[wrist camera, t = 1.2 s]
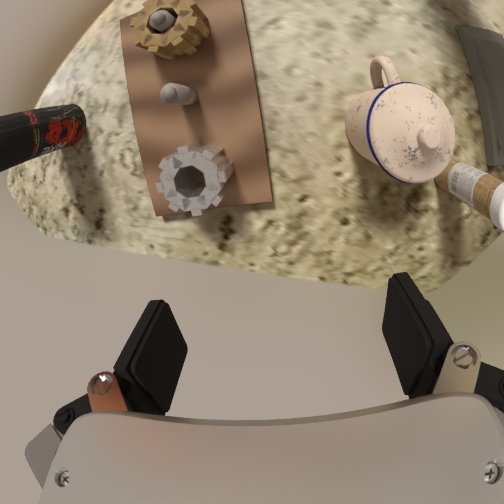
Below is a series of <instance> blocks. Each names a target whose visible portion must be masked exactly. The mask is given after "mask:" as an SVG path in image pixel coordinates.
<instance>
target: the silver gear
mask: <svg viewBox="0 0 504 504" xmlns="http://www.w3.org/2000/svg"><path fill="white" fill-rule="evenodd" d="M223 149H224V148H223V147H222V146H220V145H219V144H217V143H216V144H214V145H212V146H210V145H209V144H206V145H202V140H198V141H193V142H190V143H188V144H185V145H183V146H180V147H178V148H177V150H178V151H177V152H175V153H173V154H170V155H168V156H166V157H164V158H163V159H162V161H161V162H160V164H159V166H158V167H160V168H161V169H162V170H163V171H162V173H161V174H160V178H161V180H160V181H158V182H157V183H156V186H157V190H158V193H161V192H164V195H165V198H166V199H167V200H169V201H170V204H169V206H168V207H169V208H170V209H172V210H173V211H175V212H177V211H178V210H179V209H182V210H183V211H184V212H185V211H191V213H192V216H199V215H202V214H203V213H204V211H205V210H206V208H208V207H209V205H210V204H211V203H212V204H213V205H215V206H216V207H217V205H218V204H219V202H220V201H221V200H222V198H223V197H224V195H225V193H226V192H227V190H228V188H229V186H230V184H229V183H227V182H226V181H227V180H228V178H229V177H230V175H231V174H232V172H233V171H234V167H233V161H231V162H227V160H226V156H225V155H223V154H222V153H221V152H222V150H223ZM192 165H193V166H194V167H196V168H197V169H199V170H200V171H202V172H203V173H204V177H205V182H206V183H205V184H199V183H197V182H196V181H194V180H193V179H192V178H191V176H190V171H189V166H192Z"/></svg>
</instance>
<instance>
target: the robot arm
mask: <svg viewBox="0 0 504 504" xmlns="http://www.w3.org/2000/svg"><path fill="white" fill-rule="evenodd" d="M382 331H383V335H384V338H385V340H386V343H387V346H388V348H389V351H390V354H391V356H392V359H393V362H394V365H395V368H396V371H397V374H398V377H399V379H400V383H401V386H402V389H403V392H404V394H405V395H408V396H409V399H408V400H404V401H400V402H396V403H391V404H387V405H382V406H377V407H372V408H368V409H362V410H356V411H350V412H345V413H338V414H331V415H323V416H314V417H304V418H292V419H276V420H209V419H193V418H181V417H171V416H165V413H166V412H168V411H169V409H170V406H171V403H172V399H173V396H174V392H175V390H176V386H177V383H178V380H179V377H180V373H181V370H182V367H183V364H184V361H185V358H186V355H187V344H186V342H185V340H184V338H183V336H182V333H181V331H180V329H179V327H178V325H177V322H176V320H175V318H174V316H173V313H172V311H171V309H170V307H169V304H168V303H165V301H164V300H151V301H150V302H149V303H148V305H147V307H146V308H145V310H144V312H143V314H142V316H141V318H140V319H139V321H138V323H137V324H136V326H135V328H134V330H133V332H132V333H131V335H130V337H129V339H128V341H127V342H126V344H125V346H124V348H123V350H122V352H121V354H120V356H119V358H118V360H117V361H116V363H115V365H114V367H113V368H114V372H113V373H111V372H107V371H106V372H101V373H98V374H96V375H95V376H94V377H93V378H92V379H91V380H90V382H89V383H88V387H87V392H88V393H87V394H86V395H84V396H82V397H80V398H78V399H76V400H74V401H73V402H71V403H69V404H67V405H65V406H63V407H62V408H60V409H59V410H58V411H57V412H56V414H55V416H54V420H53V423H54V425H52V424H49V425H48V426H47V427H46V428H45V429H44V430H43V431H42V432H40V433H39V434H38V435H37V436H36V437H35V438H34V439H33V440H32V441H31V442H29V444H28V445H27V446H26V449H25V456H26V459H27V461H28V463H29V465H30V467H31V469H32V471H33V473H34V475H35V477H36V478H37V480H38V482H39V484H40V486H41V487H42V489H43V490H42V493H41V497H40V501H39V504H504V370H501V369H499V368H496V367H494V366H491V365H489V364H486V363H483V362H481V355H480V352H479V350H478V349H477V348H476V347H475V346H474V345H473V344H470V343H468V342H457V343H455V344H454V342H453V341H452V339H451V337H450V335H449V333H448V332H447V330H446V328H445V327H444V325H443V323H442V322H441V320H440V318H439V317H438V315H437V314H436V312H435V310H434V309H433V307H432V306H431V304H430V302H429V301H428V300H425V299H424V297H423V295H422V294H421V292H420V291H419V289H418V288H417V286H416V285H415V283H414V282H413V280H412V279H411V277H410V276H409V275H408V273H407V272H402V273H396V274H393V276H392V278H389V281H388V290H387V298H386V305H385V312H384V318H383V324H382Z"/></svg>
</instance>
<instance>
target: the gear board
mask: <svg viewBox="0 0 504 504" xmlns="http://www.w3.org/2000/svg"><path fill="white" fill-rule="evenodd" d="M142 5H143V6H144V8H143V9H142V10H140V11H139V12H137V13H135V14H132V15H130V16H128V17H125V18H123V19H121V20H120V29H121V40H122V49H123V58H124V66H125V73H126V80H127V87H128V93H129V99H130V105H131V110H132V116H133V121H134V126H135V131H136V136H137V141H138V146H139V150H140V155H141V159H142V163H143V168H144V172H145V176H146V180H147V184H148V188H149V192H150V196H151V199H152V203H153V207H154V211H155V214H156V217H157V216H163V215H169V214H176V213H183V212H184V211H183V210H182V209H179V210H178V211H177V212H175V211H173V210H172V209H170V208H169V207H168V206H169V204H170V201H169V200H167V199H166V198H165V195H164V192H161V193H158V190H157V186H156V183H157V182H158V181H160V180H161V178H160V174H161V173H162V171H163V170H162V169H161V168H160V167H158V166H159V164H160V162H161V161H162V159H163V158H164V157H166V156H168V155H170V154H173V153H175V152H177V151H178V150H177V148H178V147H180V146H183V145H185V144H188V143H190V142H193V141H198V140H202V145H206V144H209V145H210V146H212V145H214V144H216V143H217V144H219V145H220V146H222V147H223V148H224V149H223V150H222V152H221V153H222V154H223V155H225V156H226V160H227V162H231V161H233V167H234V171H233V172H232V174H231V175H230V177H229V178H228V180H227V181H226V182H227V183H229V184H230V186H229V188H228V190H227V192H226V193H225V195H224V197H223V198H222V200H221V201H220V202H219V204H218V205H217V207H216V206H215V205H213V204H212V203H211V204H210V205H209V207H208V208H206V209H211V208H219V207H227V206H235V205H243V204H252V203H261V202H271V201H272V190H271V183H270V175H269V168H268V161H267V153H266V146H265V139H264V132H263V126H262V119H261V112H260V106H259V99H258V93H257V87H256V80H255V74H254V68H253V62H252V57H251V51H250V45H249V39H248V34H247V28H246V23H245V18H244V12H243V7H242V2H241V0H147V1H146V2H144V3H143V4H142ZM189 171H190V176H191V178H192V179H193V180H194V181H196V182H197V183H199V184H205V183H206V182H205V177H204V173H203V172H202V171H200V170H199V169H197V168H196V167H194V166H193V165H192V166H189ZM185 212H190V211H185Z"/></svg>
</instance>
